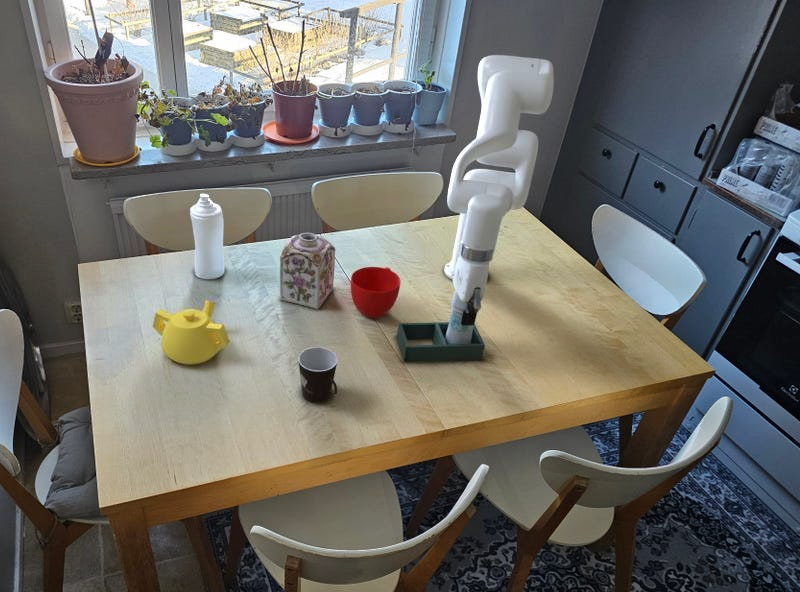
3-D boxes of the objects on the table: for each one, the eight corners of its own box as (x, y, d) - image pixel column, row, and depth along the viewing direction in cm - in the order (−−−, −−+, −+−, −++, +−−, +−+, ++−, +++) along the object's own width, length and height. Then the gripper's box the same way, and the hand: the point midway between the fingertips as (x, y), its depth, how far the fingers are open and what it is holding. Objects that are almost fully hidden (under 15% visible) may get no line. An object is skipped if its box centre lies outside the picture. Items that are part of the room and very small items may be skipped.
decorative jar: (278, 300, 174) (278, 241, 162) (295, 280, 182) (296, 222, 171) (319, 310, 170) (321, 250, 159) (334, 289, 179) (338, 231, 168)
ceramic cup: (407, 298, 177) (412, 267, 170) (386, 330, 164) (390, 297, 158) (364, 287, 181) (367, 256, 174) (340, 316, 168) (343, 284, 162)
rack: (396, 337, 162) (398, 323, 159) (470, 335, 164) (473, 321, 161) (404, 362, 154) (406, 347, 151) (481, 359, 156) (485, 345, 153)
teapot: (249, 333, 161) (247, 297, 154) (216, 376, 147) (213, 338, 140) (178, 316, 166) (174, 280, 159) (140, 356, 152) (134, 319, 145)
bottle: (469, 357, 156) (485, 288, 144) (442, 353, 157) (455, 284, 145) (470, 341, 162) (485, 273, 149) (443, 337, 162) (456, 269, 150)
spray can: (238, 272, 184) (234, 191, 169) (214, 288, 177) (207, 204, 162) (207, 260, 189) (200, 180, 174) (183, 275, 182) (173, 193, 166)
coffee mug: (296, 381, 147) (297, 347, 141) (333, 380, 148) (335, 346, 141) (299, 416, 138) (300, 381, 131) (338, 415, 138) (341, 380, 132)
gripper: (451, 232, 149) (439, 296, 160) (471, 270, 135) (457, 337, 146) (482, 232, 149) (468, 296, 161) (505, 269, 136) (488, 336, 147)
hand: (463, 315), depth 153 cm, fingers closed on bottle, 6 cm apart
